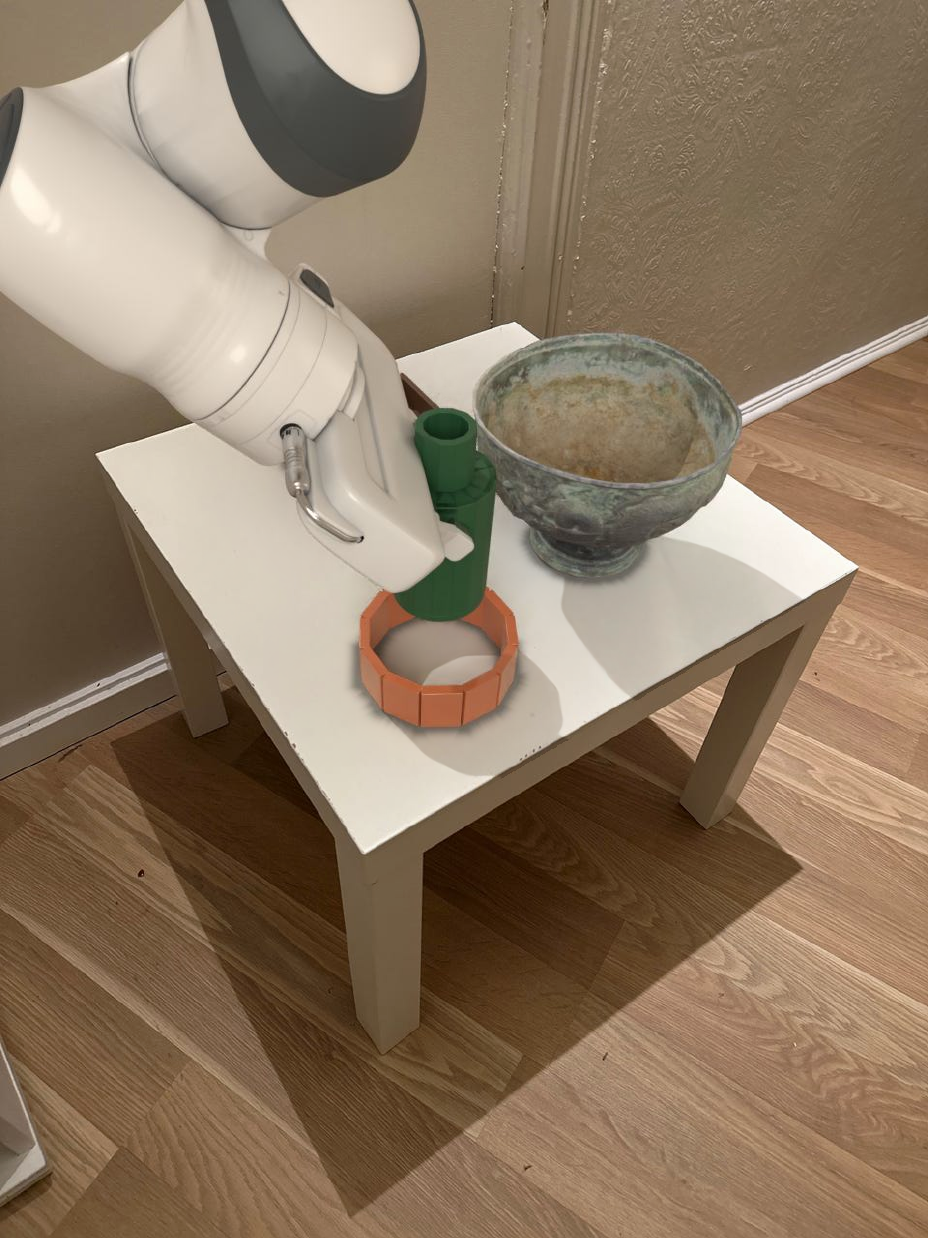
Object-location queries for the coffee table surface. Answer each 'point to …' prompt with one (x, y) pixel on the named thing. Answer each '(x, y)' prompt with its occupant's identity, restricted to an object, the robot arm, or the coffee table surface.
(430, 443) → the bottle
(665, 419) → the bowl
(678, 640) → the coffee table surface
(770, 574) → the coffee table surface
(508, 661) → the orange ring
